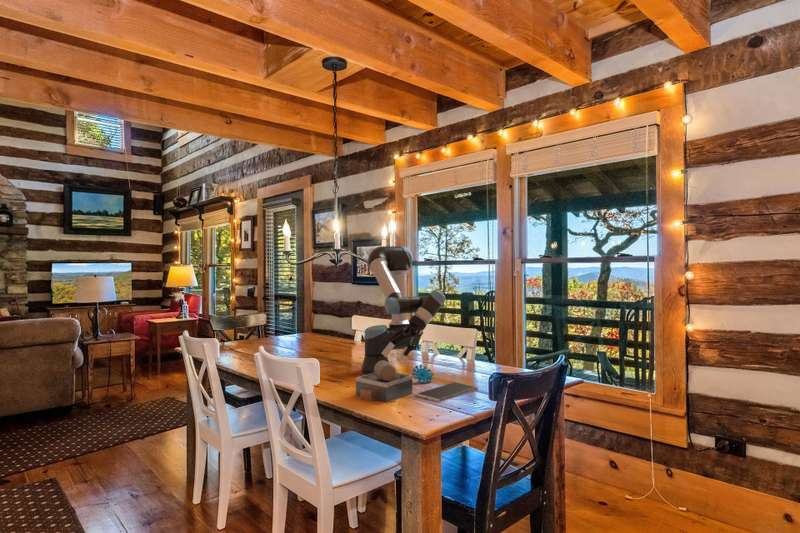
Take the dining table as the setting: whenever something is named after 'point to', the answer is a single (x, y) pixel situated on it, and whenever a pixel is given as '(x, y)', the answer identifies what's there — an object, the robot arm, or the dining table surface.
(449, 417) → the dining table surface
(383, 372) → the ceramic mug
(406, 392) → the grey hollow block
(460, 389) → the grey flat slab
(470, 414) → the dining table surface
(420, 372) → the gear
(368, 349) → the robot arm
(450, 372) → the dining table surface
